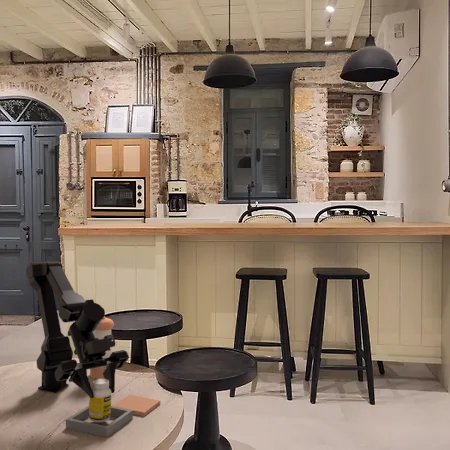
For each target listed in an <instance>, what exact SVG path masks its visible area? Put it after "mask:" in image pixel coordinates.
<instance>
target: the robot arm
mask: <svg viewBox="0 0 450 450" xmlns="http://www.w3.org/2000/svg"><path fill="white" fill-rule="evenodd" d="M25 276H26V278H28V281H29V282H28V283H29V285H30V286H31V288H33V290H35V292H36V295H37V301H38V307H39V311H40V316H41V322H42V327H43V333H44V340H43V342H42V343H41V346H40V351H41V352H40V354H39V356H38V358H37V359H36V368H37V369H38V370H39V371H40V372H41V386H39V387H37V390H38V391H39V390H40V391H45V392H49V393H57V392H60V391H62V390H64V389H65V388H67V387H69V385H70V384H69V383H71V382H72V383H74V384H75V385H76V386H77V387H79V389H81V390H82V391H83V392H84V393H85V394H86V395H87V396H88V397H89V399H90V398H93V397H94V394H93V390H92V389H93V386H92V384H91V383H90V380H89V377H88V370H90V369H92V368H97V367H102V366H103V367H104V370H105V371H104V372H103V376H104V378H103V379H108V380H109V387H108V388H110V389H111V394H114V393H115V391H116V389H115V386H116V384H115V383H116V382H115V381H116V380H115V379H116V370H118V369H121V368H123V366H125V364H126V363H127V361H128V360H129V359H130V356H129V353H128V352H127V351H126V350H125V349H123V350H115V351H112V354H111V355H110V356H109V358H104V359H103V358H102V357H103V356H105V354H106V352H105V351H110V348H111V347H112V348H113V347H115V346H116V339H115V337H114V335H113V334H111V335H106V336H104V339H98V338H95V336H94V330H96V328H97V327H98V325H99V324H100V322H101V321H102V319H103V318H104V316H105V314H106V312H105V311H106V310H105V308H103V306H102V305H101V304H99V303H96V302H95V301H94V299H92V298H91V299H85V298H84V296H83V295H81V294H79V293H78V292H76V291H75V290H74V288H73V286H72V284H71V283H70V280H69V279H68V277H67V275H66V273H65V272H64V269H63V264H62V262H59V261H37V262H33V261H32V262H31V263H30V264H29V265H28V266H26V269H25ZM55 296H56V297H55ZM56 298H57V301H58V303H59V304H58V307H57V303H56ZM105 317H106V316H105ZM59 318H60V319H59ZM60 320H61V322H63V323H71V325H70V326H69V327H68V331H67V335H66V336H65V335H64V334H63V333H62V329H61V323H60ZM72 322H73V323H72ZM70 338H71V340H72V344H73V346H74V350H73V348H72V346H71V342H70V341H71V340H70ZM74 355H75V356H76V355H77V359H78V361H79V362H78V361H77V360H76V359H75V358H73V356H74ZM67 381H68V382H69V383H67Z"/></svg>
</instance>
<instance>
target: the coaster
mask: <svg viewBox="0 0 450 450" xmlns="http://www.w3.org/2000/svg"><path fill="white" fill-rule="evenodd" d="M160 405H161V400H159V399H154V398H149V397H144V396H141V395H140V396H139V395H133V394H128V395H127V396H125V397H123V398H122V399H121V400H119V401H117V402H116V403H114V404H113V405H112V406H115V407H120V408H125V409H129V410H133V415H135V416H136V415H137V416H140V417H141V416H142V417H145V416H147V415H148V414H149V413H151V412H152V411H153V410H154V409H156V408H157V407H158V406H160Z"/></svg>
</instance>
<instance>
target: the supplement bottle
mask: <svg viewBox="0 0 450 450" xmlns="http://www.w3.org/2000/svg"><path fill="white" fill-rule="evenodd" d="M92 390H93V394H94V397H93V398H90V397H89V400H88V401H89V402H88V403H89V404H88V406H89V416H88V419H89V421H90V422H91V423H104V422H107V421H109V420H110V419H111V416H110V414H111V406H112V393H111V389H110V388H109V380H108V379H105V378H102V379H97V378H95V379H94V380H93V382H92Z"/></svg>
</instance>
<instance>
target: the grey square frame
mask: <svg viewBox="0 0 450 450" xmlns="http://www.w3.org/2000/svg"><path fill="white" fill-rule="evenodd" d="M133 416H134V414H133V410H129V409H125V408H120V407H115V406H113V405H111V414H110V417H116V419H114V420H113V421H111V422H110V423H108V424H106V426H105V425H101V424H99V423H98V424H97V423H95V422H88V421H84V420H85V419H87V418H89V405H87V406H86V407H84V408H82V409H80V410H79V411H77V412H76V413H74V414H73V415H71V416H69V417H67V418H66V419H65V428H66V429H69V430H73V431H76V432H81V433H85V434H90V435H93V436H97V437H102V438H108V437H110V436H112V434H114V433H116V432H117V431H118V430H119V429H121V428H122V427H123V426H125V425H126V424H127V423H129V422H130V421H132V420H133V418H134V417H133Z"/></svg>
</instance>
